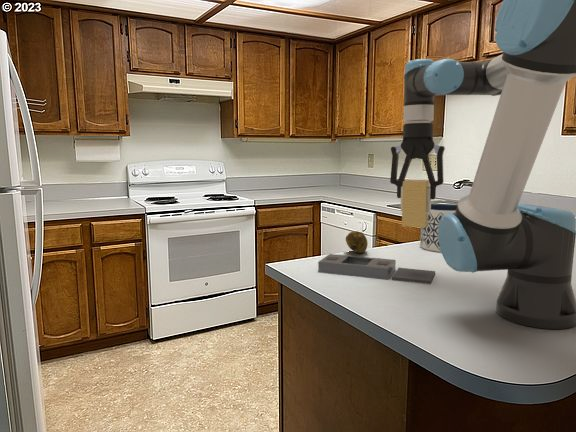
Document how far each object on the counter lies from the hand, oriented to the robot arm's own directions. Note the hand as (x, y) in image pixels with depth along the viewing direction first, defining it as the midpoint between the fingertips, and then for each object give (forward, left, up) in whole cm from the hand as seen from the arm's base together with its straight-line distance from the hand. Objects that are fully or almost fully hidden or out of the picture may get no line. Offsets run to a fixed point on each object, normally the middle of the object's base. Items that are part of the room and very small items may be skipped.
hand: (415, 210), depth 120 cm
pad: (0, 0, -18) cm, 18 cm away
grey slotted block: (0, +16, -18) cm, 24 cm away
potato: (+21, +22, -19) cm, 36 cm away
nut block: (0, 0, -4) cm, 4 cm away
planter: (+39, -4, -19) cm, 43 cm away
